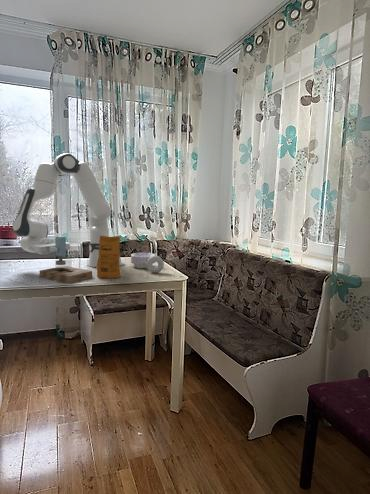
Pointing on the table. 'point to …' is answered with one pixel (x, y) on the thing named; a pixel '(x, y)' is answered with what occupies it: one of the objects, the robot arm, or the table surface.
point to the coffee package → (108, 257)
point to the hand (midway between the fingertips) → (61, 249)
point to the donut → (153, 259)
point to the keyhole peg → (60, 249)
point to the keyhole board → (65, 274)
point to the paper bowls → (141, 259)
